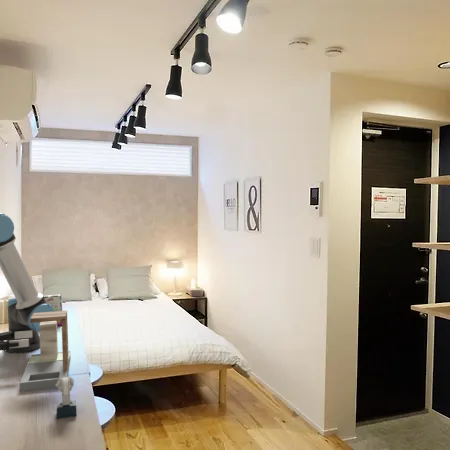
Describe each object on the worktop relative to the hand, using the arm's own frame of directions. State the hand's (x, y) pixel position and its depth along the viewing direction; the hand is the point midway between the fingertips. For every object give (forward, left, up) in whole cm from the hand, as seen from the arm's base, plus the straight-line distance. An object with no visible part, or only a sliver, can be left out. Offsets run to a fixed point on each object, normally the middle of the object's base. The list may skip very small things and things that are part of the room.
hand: (30, 338), depth 184 cm
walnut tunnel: (+12, +8, -9) cm, 17 cm away
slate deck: (+9, +7, -12) cm, 16 cm away
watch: (+49, +15, -12) cm, 53 cm away
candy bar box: (-71, +2, -12) cm, 72 cm away
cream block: (0, +7, -8) cm, 11 cm away
